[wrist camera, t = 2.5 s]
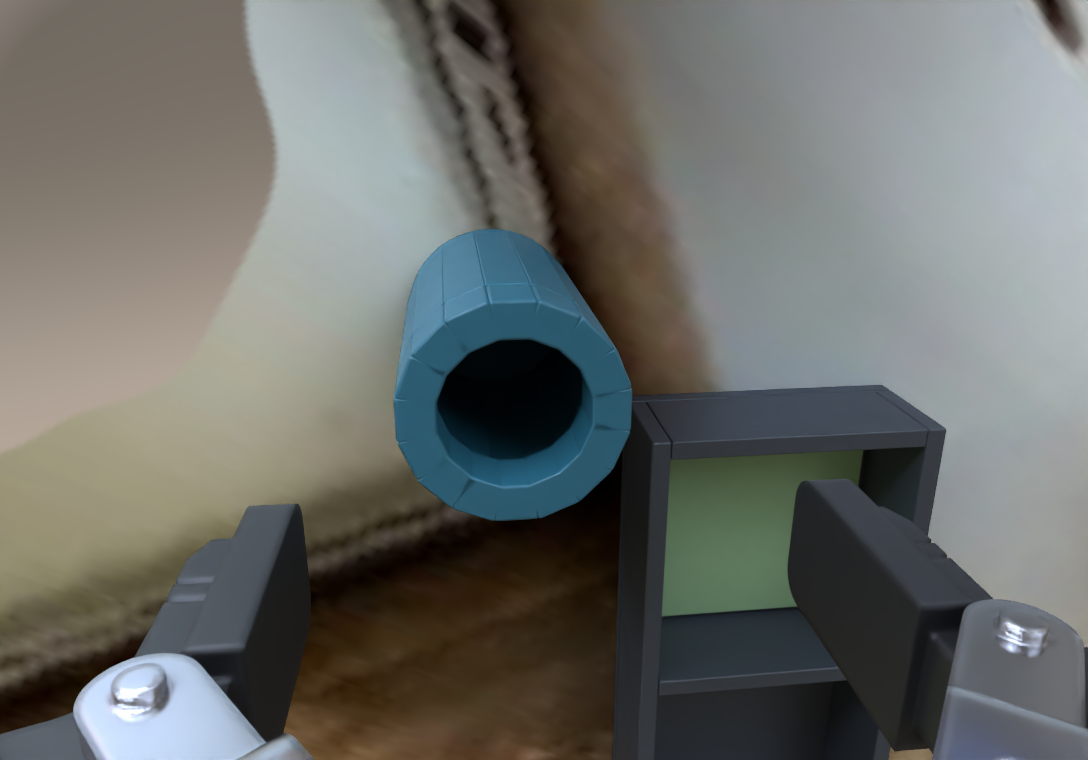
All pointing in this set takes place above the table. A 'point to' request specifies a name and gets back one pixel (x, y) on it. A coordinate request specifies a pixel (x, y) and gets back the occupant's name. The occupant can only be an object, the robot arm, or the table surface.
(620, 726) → the divided tray
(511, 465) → the jar
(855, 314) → the table surface
